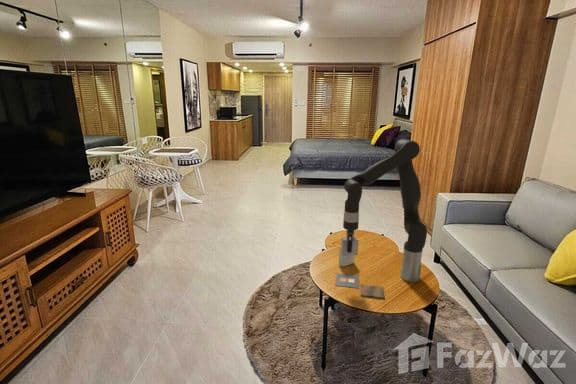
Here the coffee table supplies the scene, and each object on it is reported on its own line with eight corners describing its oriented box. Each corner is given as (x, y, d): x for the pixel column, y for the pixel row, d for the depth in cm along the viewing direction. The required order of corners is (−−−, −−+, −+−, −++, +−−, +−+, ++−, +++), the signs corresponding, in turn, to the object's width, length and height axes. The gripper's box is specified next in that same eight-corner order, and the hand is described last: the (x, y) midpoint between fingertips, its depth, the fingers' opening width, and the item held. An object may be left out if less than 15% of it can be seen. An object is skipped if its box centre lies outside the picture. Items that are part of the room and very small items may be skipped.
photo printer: (350, 259, 187) (351, 241, 184) (355, 262, 184) (356, 243, 180) (337, 264, 182) (338, 245, 178) (342, 267, 178) (343, 248, 175)
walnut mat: (382, 288, 159) (382, 287, 159) (384, 298, 150) (384, 297, 150) (360, 285, 161) (360, 284, 161) (361, 296, 153) (361, 294, 152)
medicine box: (355, 251, 163) (356, 236, 161) (357, 255, 159) (358, 240, 157) (340, 251, 163) (341, 236, 161) (342, 256, 159) (343, 240, 156)
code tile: (358, 275, 170) (358, 275, 170) (358, 288, 159) (358, 288, 159) (336, 273, 173) (336, 273, 173) (335, 285, 161) (335, 285, 161)
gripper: (358, 225, 148) (356, 257, 153) (358, 214, 162) (356, 244, 167) (343, 224, 150) (341, 255, 155) (344, 213, 163) (342, 243, 168)
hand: (349, 249), depth 161 cm, fingers closed on medicine box, 5 cm apart
